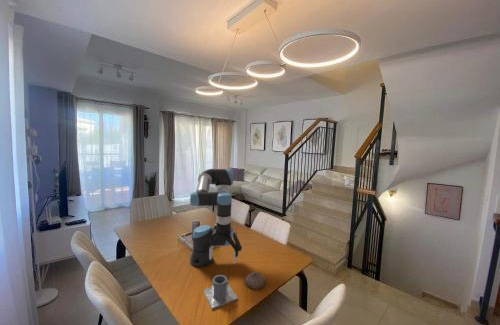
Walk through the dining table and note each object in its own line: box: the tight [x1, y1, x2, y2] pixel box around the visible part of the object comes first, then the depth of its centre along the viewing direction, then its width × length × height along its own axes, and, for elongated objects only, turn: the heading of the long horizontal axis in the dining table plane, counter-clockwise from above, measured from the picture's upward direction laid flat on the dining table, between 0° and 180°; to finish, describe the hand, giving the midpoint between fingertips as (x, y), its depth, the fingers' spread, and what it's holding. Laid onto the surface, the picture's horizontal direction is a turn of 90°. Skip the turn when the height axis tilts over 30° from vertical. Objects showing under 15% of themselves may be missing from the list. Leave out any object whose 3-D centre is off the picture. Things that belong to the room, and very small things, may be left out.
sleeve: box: [211, 274, 229, 299], centre depth 109 cm, size 8×8×8 cm
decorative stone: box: [244, 271, 266, 291], centre depth 120 cm, size 12×12×6 cm
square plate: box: [202, 283, 239, 310], centre depth 109 cm, size 14×14×6 cm
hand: (222, 260), depth 111 cm, fingers open, 13 cm apart
